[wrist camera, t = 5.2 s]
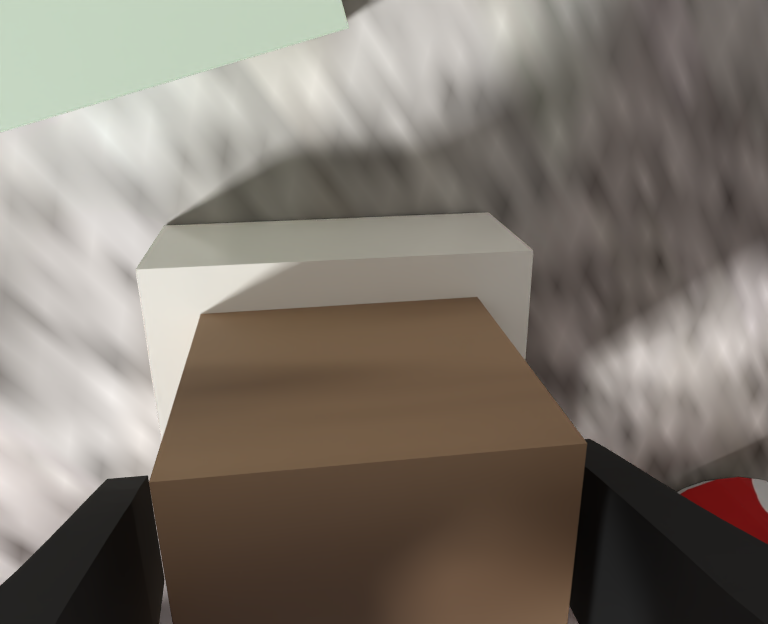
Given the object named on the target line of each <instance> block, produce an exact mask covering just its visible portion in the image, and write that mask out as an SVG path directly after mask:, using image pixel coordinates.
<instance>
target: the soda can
mask: <svg viewBox="0 0 768 624" xmlns="http://www.w3.org/2000/svg"><path fill="white" fill-rule="evenodd" d="M677 493H679V494H680V495H682V496H684V497H685V498H687V499H689V500H690V501H692V502H694V503H695V504H697V505H699V506H700V507H702V508H704V509H705V510H707V511H709V512H711V513H712V514H714V515H716V516H717V517H719V518H721V519H723V520H724V521H726V522H728V523H730V524H732V525H734V526H735V527H737V528H739V529H741V530H743V531H744V532H746V533H748V534H750V535H752V536H754V537H755V538H757V539H759V540H761V541H763V542H765V543H767V544H768V482H767V481H765V480H760V479H752V478H744V477H732V478H724V479H716V480H711V481H703V482H700V483H698V484H695V485H692V486H689V487H686V488H684V489H682V490H680V491H678V492H677Z"/></svg>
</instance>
